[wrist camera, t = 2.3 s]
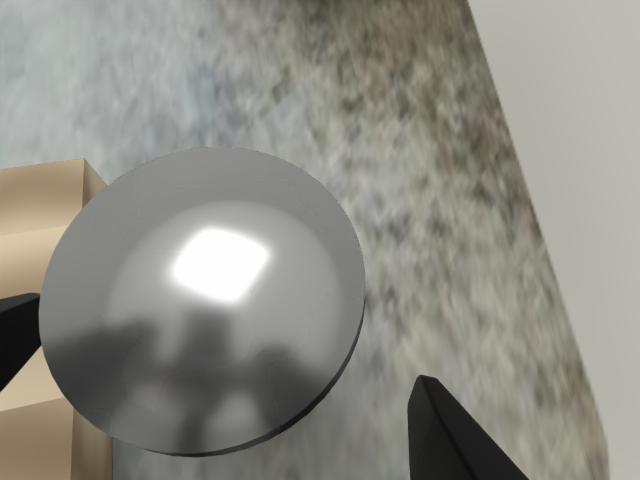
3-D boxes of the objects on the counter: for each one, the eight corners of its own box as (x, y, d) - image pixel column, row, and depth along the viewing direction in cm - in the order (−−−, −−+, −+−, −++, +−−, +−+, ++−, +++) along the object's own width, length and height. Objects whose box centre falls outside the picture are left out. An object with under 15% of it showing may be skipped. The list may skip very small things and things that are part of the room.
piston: (342, 381, 16) (436, 332, 6) (238, 449, 15) (93, 559, 4) (287, 285, 18) (277, 106, 7) (188, 339, 17) (-4, 216, 6)
